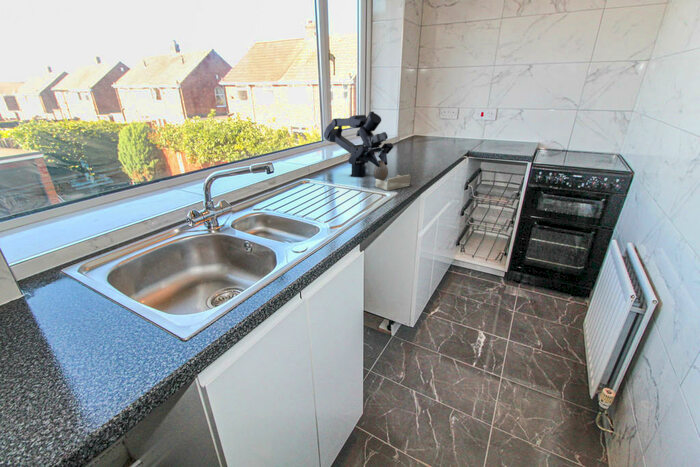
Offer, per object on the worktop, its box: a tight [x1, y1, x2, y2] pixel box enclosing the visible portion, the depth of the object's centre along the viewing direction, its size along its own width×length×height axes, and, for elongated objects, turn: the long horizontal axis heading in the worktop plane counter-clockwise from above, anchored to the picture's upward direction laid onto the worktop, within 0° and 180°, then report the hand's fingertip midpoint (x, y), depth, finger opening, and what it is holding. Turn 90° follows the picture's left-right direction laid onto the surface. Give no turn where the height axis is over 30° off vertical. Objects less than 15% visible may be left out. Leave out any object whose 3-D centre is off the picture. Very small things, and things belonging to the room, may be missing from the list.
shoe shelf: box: [374, 174, 411, 192], centre depth 147 cm, size 8×13×5 cm, turn 126°
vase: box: [372, 159, 389, 181], centre depth 152 cm, size 7×7×9 cm
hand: (382, 165), depth 150 cm, fingers closed on vase, 4 cm apart
